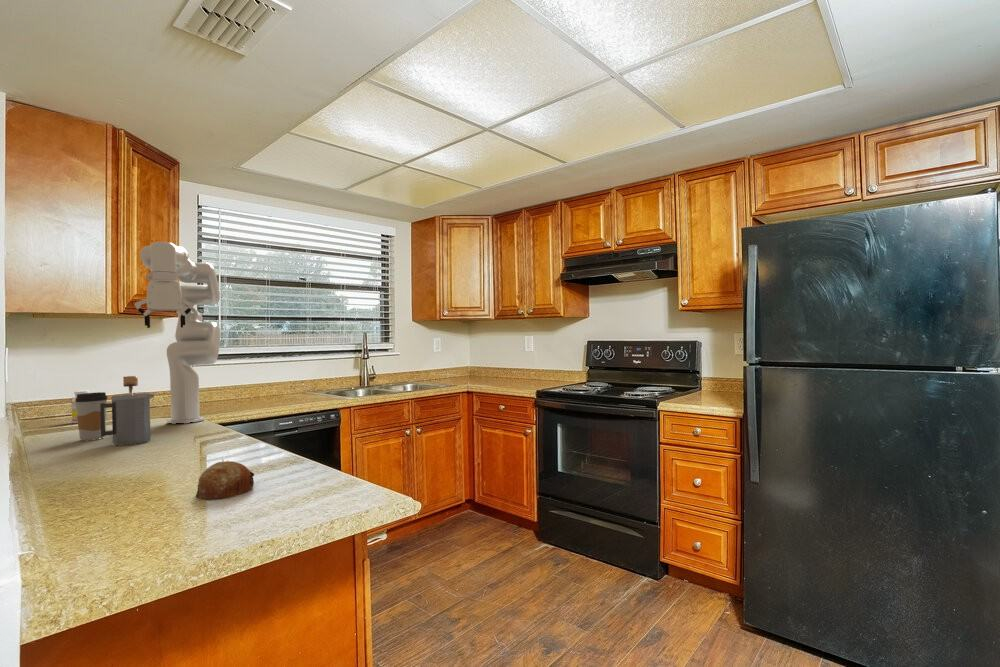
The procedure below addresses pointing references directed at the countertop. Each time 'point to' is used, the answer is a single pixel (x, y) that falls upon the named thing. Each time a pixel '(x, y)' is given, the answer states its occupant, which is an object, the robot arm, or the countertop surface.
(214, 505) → the countertop surface
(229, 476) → the bread roll
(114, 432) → the french press
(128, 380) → the plunger
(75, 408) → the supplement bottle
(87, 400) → the coffee cup
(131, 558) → the countertop surface
